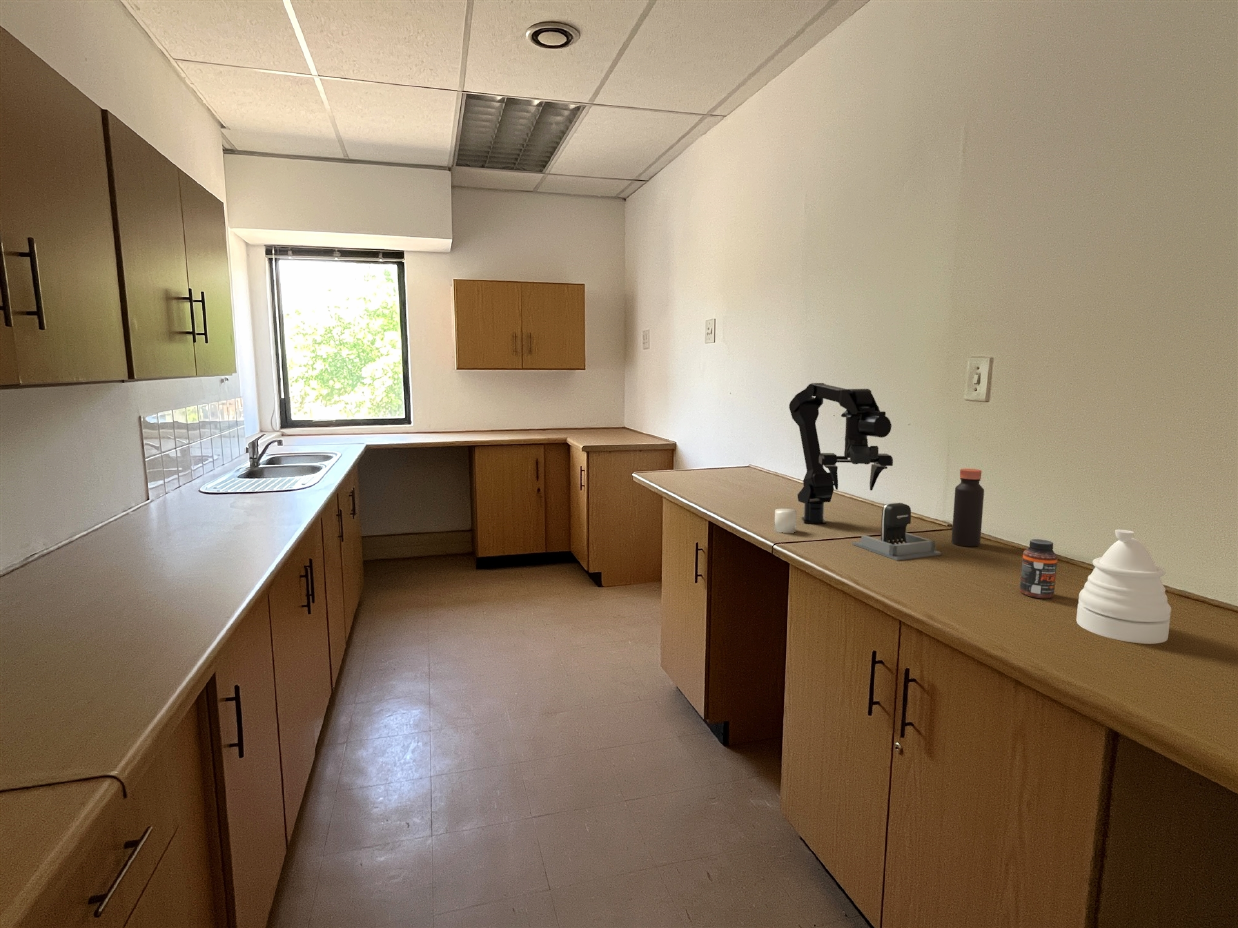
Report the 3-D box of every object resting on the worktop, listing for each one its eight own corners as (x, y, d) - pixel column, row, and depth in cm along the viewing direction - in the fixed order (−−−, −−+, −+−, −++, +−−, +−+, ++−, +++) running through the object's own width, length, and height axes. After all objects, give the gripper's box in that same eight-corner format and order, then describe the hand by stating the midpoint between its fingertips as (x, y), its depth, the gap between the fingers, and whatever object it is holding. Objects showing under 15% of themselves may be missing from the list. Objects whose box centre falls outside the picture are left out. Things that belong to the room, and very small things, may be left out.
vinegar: (982, 548, 166) (988, 472, 163) (953, 546, 168) (958, 471, 165) (977, 541, 172) (982, 468, 169) (949, 539, 174) (954, 467, 171)
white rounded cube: (773, 528, 189) (774, 508, 188) (794, 528, 188) (794, 508, 187) (775, 533, 183) (776, 512, 182) (797, 533, 182) (797, 513, 181)
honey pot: (1140, 648, 105) (1152, 542, 102) (1060, 621, 117) (1069, 525, 114) (1184, 636, 110) (1197, 534, 108) (1103, 611, 122) (1113, 519, 119)
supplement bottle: (1043, 601, 127) (1048, 546, 125) (1013, 592, 132) (1017, 539, 131) (1060, 596, 130) (1065, 542, 128) (1030, 588, 135) (1034, 536, 133)
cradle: (852, 544, 170) (852, 533, 170) (893, 539, 175) (894, 528, 174) (897, 560, 155) (897, 548, 155) (941, 554, 160) (942, 542, 159)
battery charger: (889, 550, 162) (892, 506, 160) (879, 546, 166) (881, 503, 164) (911, 547, 164) (914, 504, 163) (900, 544, 168) (903, 501, 166)
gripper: (826, 437, 169) (824, 494, 171) (900, 437, 167) (897, 496, 169) (819, 433, 180) (817, 487, 182) (888, 433, 178) (885, 488, 180)
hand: (853, 489), depth 178 cm, fingers open, 9 cm apart
